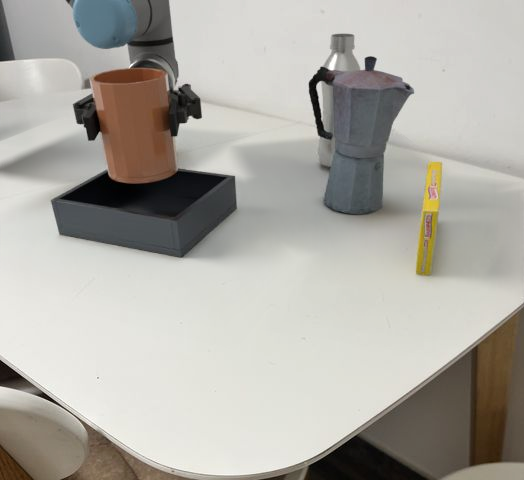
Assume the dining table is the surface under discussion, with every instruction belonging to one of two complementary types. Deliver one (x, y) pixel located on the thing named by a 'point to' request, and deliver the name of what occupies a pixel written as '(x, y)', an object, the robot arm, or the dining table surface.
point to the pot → (135, 124)
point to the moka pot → (359, 133)
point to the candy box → (429, 219)
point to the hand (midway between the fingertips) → (131, 127)
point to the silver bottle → (339, 61)
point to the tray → (147, 210)
